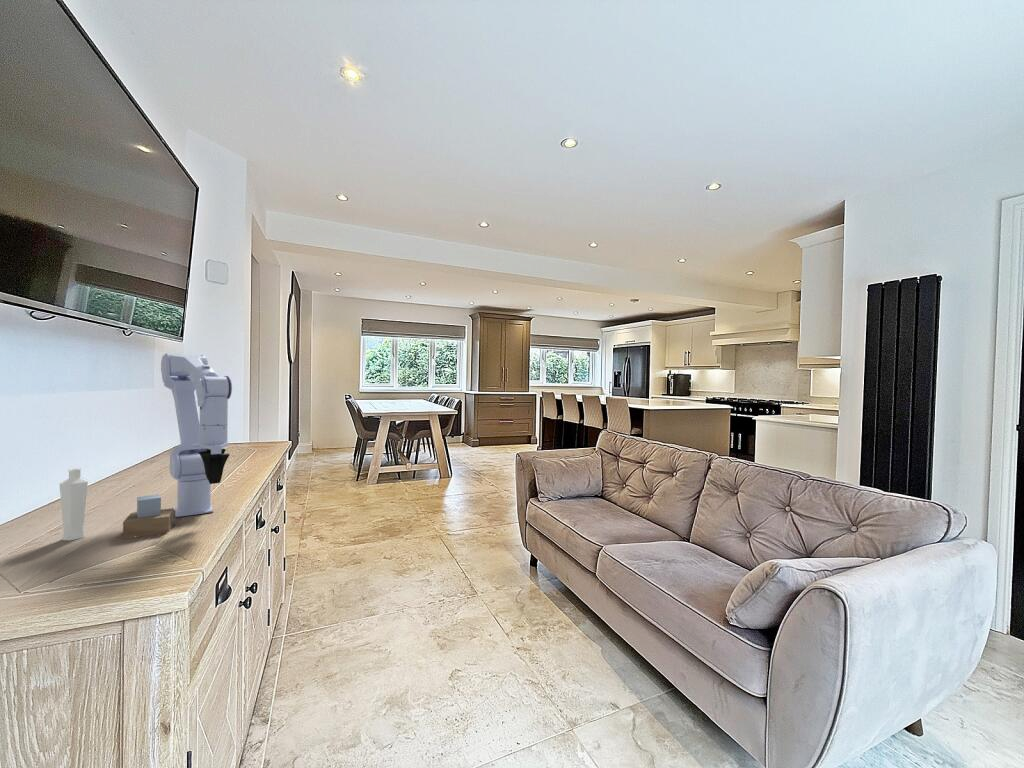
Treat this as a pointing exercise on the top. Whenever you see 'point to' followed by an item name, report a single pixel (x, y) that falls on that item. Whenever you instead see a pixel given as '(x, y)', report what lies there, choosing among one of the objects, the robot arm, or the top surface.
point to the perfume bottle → (73, 505)
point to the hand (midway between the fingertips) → (213, 480)
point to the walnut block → (148, 524)
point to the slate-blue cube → (148, 506)
